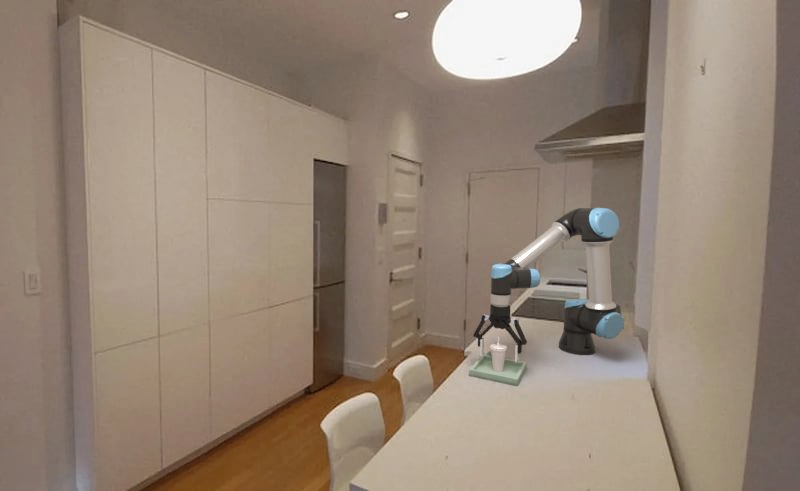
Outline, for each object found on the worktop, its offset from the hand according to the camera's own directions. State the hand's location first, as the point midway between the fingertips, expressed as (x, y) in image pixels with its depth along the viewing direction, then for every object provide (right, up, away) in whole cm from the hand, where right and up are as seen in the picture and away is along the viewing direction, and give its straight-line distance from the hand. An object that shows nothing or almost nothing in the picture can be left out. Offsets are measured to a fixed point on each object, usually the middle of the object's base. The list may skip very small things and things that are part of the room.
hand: (498, 358), depth 150 cm
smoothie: (0, -5, +1) cm, 5 cm away
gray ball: (0, -5, +13) cm, 14 cm away
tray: (0, -6, +1) cm, 6 cm away
